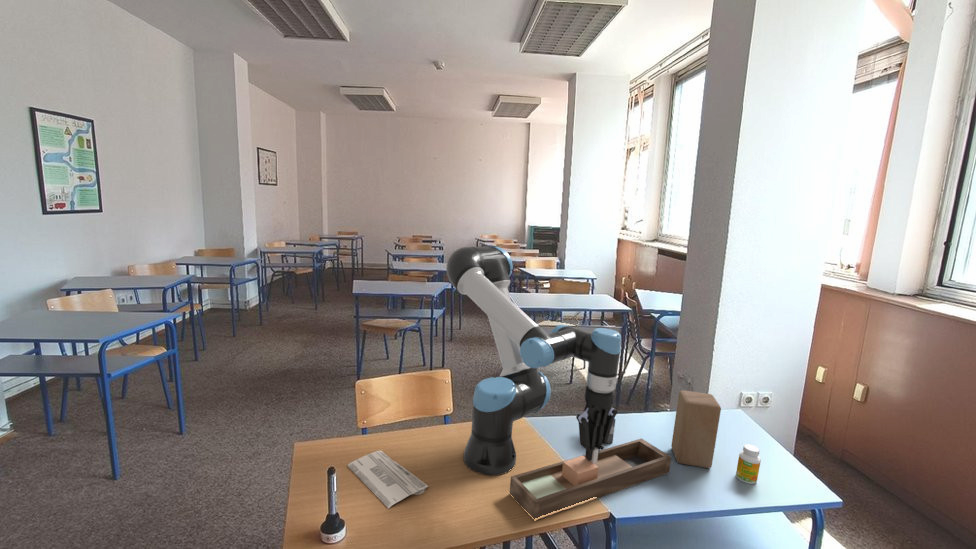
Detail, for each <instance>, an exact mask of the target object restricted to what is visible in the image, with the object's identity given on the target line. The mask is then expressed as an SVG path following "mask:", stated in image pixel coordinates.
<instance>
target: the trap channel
mask: <svg viewBox="0 0 976 549" xmlns="http://www.w3.org/2000/svg"><path fill="white" fill-rule="evenodd" d="M582 456H584V457H585V454H583V455H582ZM570 459H571V458H570ZM570 459H567V460H570ZM567 460H563V461H559V462H556V463H553V464H549V465H547V466H542V467H539V468H535V469H531V470H529V471H525V472H522V473H517V474H514V475H512V476H510V483H509V484H510V485H509V493H510V494H511V495H512V496H513V497H514V499H515V500H516V501H517V502H518V503H519V504H520V505H521V506H522V507H523V508H524V509H525V510H526V511H527V512H528V513H529V514H530V515H531V516H532V517H533V518H534V519H535V518H538V517H540V516H542V515H546V514H548V513H551V512H553V511H557V510H560V509H562V508H565V507H568V506H571V505H574V504H576V503H579V502H582V501H585V500H588V499H590V498H593V497H597V498H598V499H600V498H603V497H606V496H609V495H612V494H613V493H614V494H615V493H616V492H619V491H622V490H626V489H628V488H630V487H633V486H636V485H637V486H638V485H639V484H641V483H645V482H647V481H649V480H650V481H651V480H653V479H655V478H659V477H662V476H664V475H666V474H670V470H671V463H672V462H671V461H672V456H671V455H669V454H668V453H666V452H664V451H663V450H662V449H660V448H659V447H656V446H654V445H653V444H651V443H650V442H649V441H647V440H644V438H642V437H641V438H638V439H635V440H631V441H628V442H625V443H621V444H618V445H614V446H611V447H608V448H603V449H602V450H601V449H600V452H599V457H598V459H597V466H598V476H597V479H595V480H592V481H589V482H586V483H583V484H580V485H577V486H574V485H573V484H572V483H570V482H569V481H568V480H567V479H566V478H564V477H563V476H562V469H563V462H564V461H567ZM510 494H509V495H510ZM511 495H510V496H511ZM512 496H511V497H512ZM514 499H513V500H514ZM515 500H514V501H515ZM516 501H515V502H516ZM517 502H516V503H517ZM518 503H517V504H518ZM519 504H518V505H519ZM520 505H519V506H520ZM521 506H520V507H521ZM522 507H521V508H522Z"/></svg>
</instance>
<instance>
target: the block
mask: <svg viewBox="0 0 976 549" xmlns="http://www.w3.org/2000/svg"><path fill="white" fill-rule="evenodd" d="M678 392H679V393H678V398H677V405H676V412H675V417H674V418H675V419H674V425H673V430H672V431H673V433H672V438H671V449H672V452H673V454H674V457H675V459H676V462H677V463H678V464H681V465H687V466H692V467H698V468H699V467H700V468H704V469H712V465H713V460H714V455H715V449H716V442H717V436H718V431H719V423H720V417H721V410H722V407H721V405H720V404H719V402H718V401H717V400H716V398H715V397H714V395H713V394H711V393H705V392H697V391H691V390H685V389H684V390H683V389H682V390H680V391H678Z"/></svg>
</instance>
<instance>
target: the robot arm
mask: <svg viewBox="0 0 976 549" xmlns="http://www.w3.org/2000/svg"><path fill="white" fill-rule="evenodd" d="M447 259H448V260H447V263H446V275H447V278H448V281H449V282H450V284H451V285H452V286H453V288H454V289H455V290H456V291H457V292H459V294H460V295H466V296H467V297H468V298H469V299H471V300H472V302H473V303H475V304H476V306H477V307H478V308H480V309H481V311H482V312H484V314H485V315H487V318H488V321H489V325H490V329H491V332H492V336H493V339H494V342H495V347H496V349H497V350H496V351H497V352H498V356H499V359H500V362H501V363H500V364H501V366H502V370H501V372H500V374H499V376H496V377H494V376H491V377H487V378H484V379H482V380H480V381H479V382H478V383H477V384H476V386H475V387H474V388H475V389H474V394H473V397H472V418H471V420H472V421H471V423H472V424H471V433H470V436H469V438H468V440H467V443H466V446H465V448H464V449H463V462H464V464H465V465H466V467H468V469H470V470H472V471H473V472H474V473H478V474H481V475H485V476H486V475H488V476H499V475H498V474H500V475H503V474H502V473H504V474H506V473H505V472H507V473H509V472H510V471H511V470H510V469H512V468H513V467H514V468H515V466H516V461H517V452H516V449H515V445H514V441H513V436H512V435H513V426H514V422H516V421H518V420H520V419H523V418H525V417H527V416H529V415H531V414H536V413H538V412H539V411H541V410H542V409H544V408H545V407H546V406H547V405H548V403H549V401H550V398H551V394H552V391H551V390H552V389H551V384H550V382H549V378H548V377H547V376H546V375H544V373H542V372H541V371H538V369H539V368H546V367H548V366H550V365H551V364H555V363H558V362H561V361H563V360H568V359H570V358H575V359H578V360H581V361H584V362H587V363H588V366H587V375H586V382H585V384H586V386H585V391H584V400H585V403H586V404H585V406H584V408H583V411H584V412H582V414H577V415H576V419H577V421H578V431H579V432H578V433H579V444H580V446H581V447H582V448H585V453H584V455H585V458H586V459H587V460H588V461H591V462H592V463H594V464H595V465H596V466H597V459H598V457H599V452H600V450H604V449H605V447H604V446H603V445H606V444H608V443H607V440H608V437H609V433H610V430H611V427H612V423H613V420H614V418H615V417H616V416H617V414H618V410H617V409H616V408H613V407H612V406H613V405H614V403H615V402H614V401H615V394H616V392H615V390H616V384H617V377H618V369H619V362H620V357H621V356H620V355H621V352H622V348H621V347H622V346H621V345H622V335H621V333H619V332H618V331H617V330H614V329H611V328H605V327H598V328H594V329H593V330H592V332H588V331H585V330H581V329H578V328H575V327H573V326H570V325H565V324H564V325H563V324H557V325H556V326H555V327H554V328H553V329H552V330H551V332H550V333H548V332H547V331H546V330H544V329H543V328H541V327H540V326H539V324H537V323H536V322H535V321H534V320H533V319H532V318H531V317H530V316H528V314H526V312H524V311H523V309H521V308H520V307H519V306H518V305H517V304H516V303H515V302H514V301H512V298H511V296H510V291H509V286H510V284H511V279H510V277H511V275H512V273H513V271H512V270H513V269H514V266H513V261H512V260H513V259H512V257H511V256H510V254H509V253H508V251H506V250H505V249H504V248H502V247H499V246H493V245H487V246H465V247H460V248H457V249H456V250H455V251H453V252H452V253H451V254H450V256H449V257H448V258H447ZM615 419H616V418H615ZM514 465H515V466H514ZM514 468H513V469H514ZM513 469H512V470H513ZM509 470H510V471H509ZM508 471H509V472H508Z"/></svg>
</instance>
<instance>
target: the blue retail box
mask: <svg viewBox="0 0 976 549" xmlns="http://www.w3.org/2000/svg"><path fill="white" fill-rule="evenodd" d="M615 425H616V418H614V420H613V423H612V427H611V430H610V433H609V437H608V440H607V443H606V444H613V442H614V432H615V427H616V426H615Z"/></svg>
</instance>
